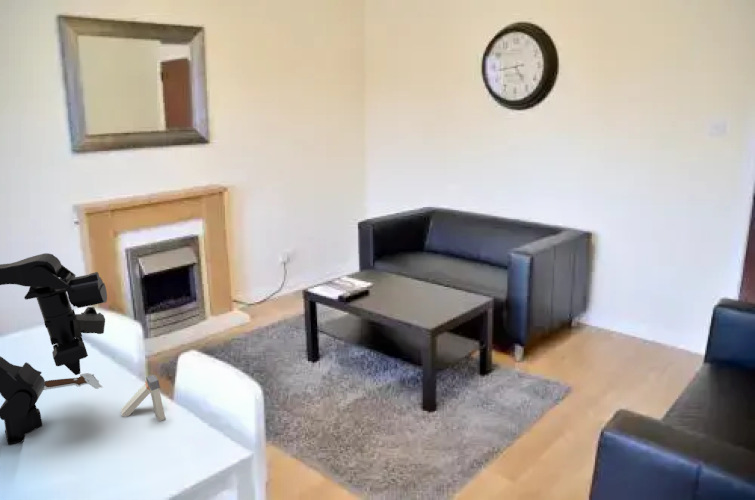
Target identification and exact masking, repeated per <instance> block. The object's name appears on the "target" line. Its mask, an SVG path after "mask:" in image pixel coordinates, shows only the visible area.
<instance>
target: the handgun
mask: <svg viewBox="0 0 755 500" xmlns="http://www.w3.org/2000/svg"><path fill="white" fill-rule="evenodd" d="M85 385H90V386H91V387H92V388H94V389H95V390H98V389H100V388H103V386H102V385H101V384H100V380H98V379H97V378H96V377H95V374H93V373H89V372H88V373H85V372H84V373H80V374H79V376H78V377H71V378H69V377H68V378H58V379H49V380H45V387H44V390H43V391H47V390H51V389H57V388H58V389H59V388H65V387H71V386H76V387H79V388H80V387H81V386H85Z"/></svg>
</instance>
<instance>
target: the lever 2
mask: <svg viewBox="0 0 755 500" xmlns="http://www.w3.org/2000/svg"><path fill="white" fill-rule="evenodd" d="M145 379H146V380H147V384H148V386H149V388H150V397H151V401H152V406H153V410H154V415H155V417H156V419H157V420H158V421H159V422H161V421H164V420H166V416H165V410H164V406H163V402H162V396H161V391H160V388H161V386H160V381H159V379H158V377H157V376H156V375H155V373H154V374H151V375H148V376H146V377H145ZM146 380H145V381H146Z"/></svg>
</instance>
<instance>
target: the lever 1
mask: <svg viewBox="0 0 755 500" xmlns="http://www.w3.org/2000/svg"><path fill="white" fill-rule="evenodd" d="M144 382H145V383H144V384H143V385H142V386H141V387H140V389H138V391H136V393H134V395H133V396H132V397H130V399H129V400H128V401H127V402H126V403H125V405H123V407H122V408H121V409H120V413H121V416H122V417H124V418H126V417H129V416H130V415H131V414H132V413H133V412H134V411H135V410H136V409H137V408H138V406H140V404H141V403H142V402H143V401H144V400H145V399H146V398H147V397H148V396H149V395H151V393H150V388H149V386H148V384H147V380H145V381H144Z"/></svg>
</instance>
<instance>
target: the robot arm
mask: <svg viewBox="0 0 755 500" xmlns="http://www.w3.org/2000/svg"><path fill="white" fill-rule="evenodd" d="M5 285H18V286H21V287H29V288H28V292H26V294H24V295H25V296H24V297H23V298H24V300H30V299H31V300H32V299H36V301H37V304H38V307H39V310H40V313H41V315H42V318H43V319H42V320H43V321H44V326H45V328H46V330H47V332H48V336H49V339H50V340H49V341H50V343H51V345H52V349H53V350H52V358H53V361H54V364H55V367H61V366H65V368H67V369H68V370H69V371H70V372H72V374H73V375H75V376H77V375H80V374H81V360H83V359H85V358H87V357H88V356H89V355H88V352H87V351H88V350H87V348H86V345H85V342H84V341H83V335H82V334H98V335H102V334H104V333H105V325H106V318H105V314H102V313H101V312H97V310H96V308H95V306H96V305H100V304H106V303H107V300H108V293H107V288H106V283H104V282H103V279H102V277H100V275H99V272H98V271H96V272H91V273H90V274H89V273H88V274H85V275H79V276H77V275H76V274H75V273H73V272H72V271H71V270H69V269H68V268H67V267H65V266H64V265H63V264H62V263H61V260H60V259H59V258H58V257H57V256H56V255H54V254H51V253H48V252H47V253H46V252H45V253H41V254H37V255H32V256H29V257H26V258H24V259H20V260H18V261H14V262H10V263H3V264H0V286H5ZM71 305H72V306H73V307H76V308H78V309H80V308H85V307H86V308H85V310H84V312H81V313H76V312H75V310H74V309H73V308H72V306H71ZM94 305H95V306H94ZM41 374H42V371H41V370H40V371H39V370H37V369H35V368H34V367H33V366H32V365H31V364H30V363H29V362H24V363H23V365H22V366H21V365H15V364H13V363H10V362H9V361H7V360H6V359H5V358H4V357H3V356H1V355H0V396H1V397H2V398H3V399H4V402H3V403H2V405H1V406H0V419H1V420H2V421H3V422H4V428H5V430H4V433H5V434H4V435H5V438H6V442H7V445H14V444H16V443H20V442H24V441H25V437H26V434H27V435H28V434H29V433H31V432H34V430H36V429H39V428H40V427H43V421H42V415H41V411H40V409H39V408H38V407H37V406H36V405H37V404H36V403H37V402H38V400H39V398H40V397H41V395H42V394H43V392H44V391H45V390H44V387H45V381H46V380H45V378H44V377H43V376H42V375H41Z"/></svg>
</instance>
